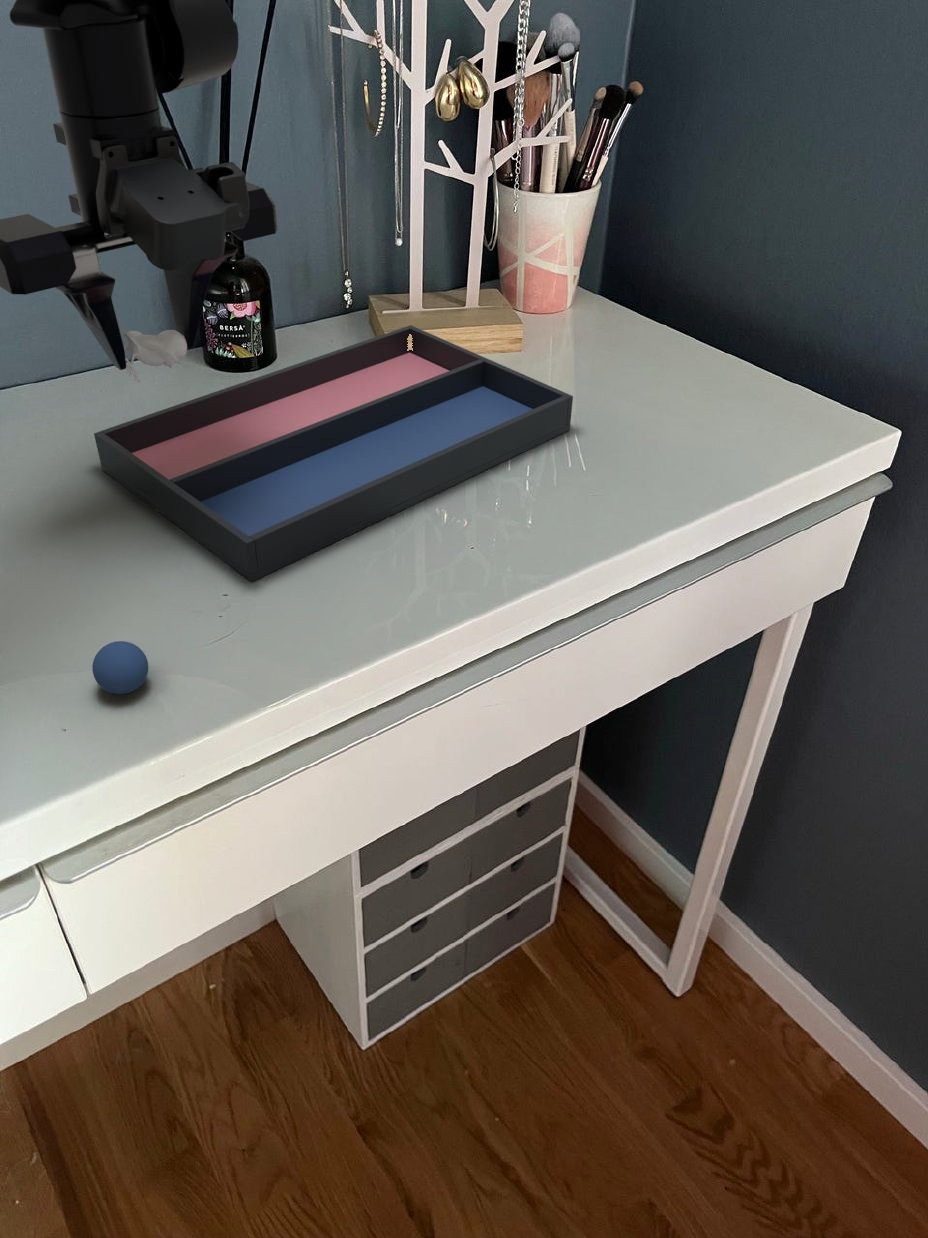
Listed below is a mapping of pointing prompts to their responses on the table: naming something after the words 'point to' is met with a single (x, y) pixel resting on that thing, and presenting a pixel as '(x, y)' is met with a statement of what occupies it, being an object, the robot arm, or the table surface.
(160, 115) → the robot arm
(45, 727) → the table surface
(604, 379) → the table surface
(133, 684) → the slate ball
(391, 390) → the tray
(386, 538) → the table surface
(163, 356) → the white bird figurine
